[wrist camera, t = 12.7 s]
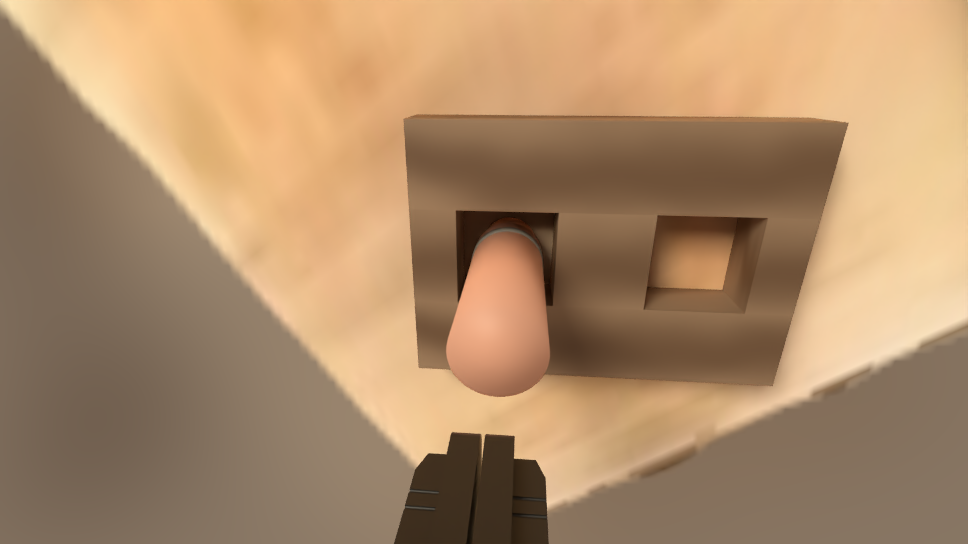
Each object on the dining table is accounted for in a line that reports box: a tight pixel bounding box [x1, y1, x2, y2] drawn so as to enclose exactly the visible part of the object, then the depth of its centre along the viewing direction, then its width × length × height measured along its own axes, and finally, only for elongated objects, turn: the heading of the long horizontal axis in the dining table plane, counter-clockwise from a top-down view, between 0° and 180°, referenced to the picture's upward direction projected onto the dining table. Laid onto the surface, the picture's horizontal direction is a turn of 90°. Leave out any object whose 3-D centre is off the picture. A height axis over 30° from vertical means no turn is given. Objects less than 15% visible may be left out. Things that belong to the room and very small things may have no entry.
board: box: [404, 115, 848, 386], centre depth 25 cm, size 14×20×3 cm
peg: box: [446, 218, 550, 397], centre depth 22 cm, size 4×4×12 cm
